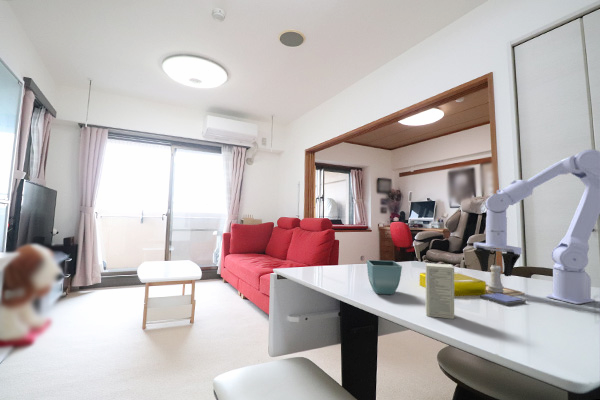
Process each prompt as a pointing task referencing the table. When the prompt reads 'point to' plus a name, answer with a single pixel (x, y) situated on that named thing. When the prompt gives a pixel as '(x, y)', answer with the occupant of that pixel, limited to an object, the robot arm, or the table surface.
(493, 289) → the rook chess piece
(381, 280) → the flower pot
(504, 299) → the ink pad
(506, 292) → the mat
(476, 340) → the table surface
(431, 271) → the skincare box
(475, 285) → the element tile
